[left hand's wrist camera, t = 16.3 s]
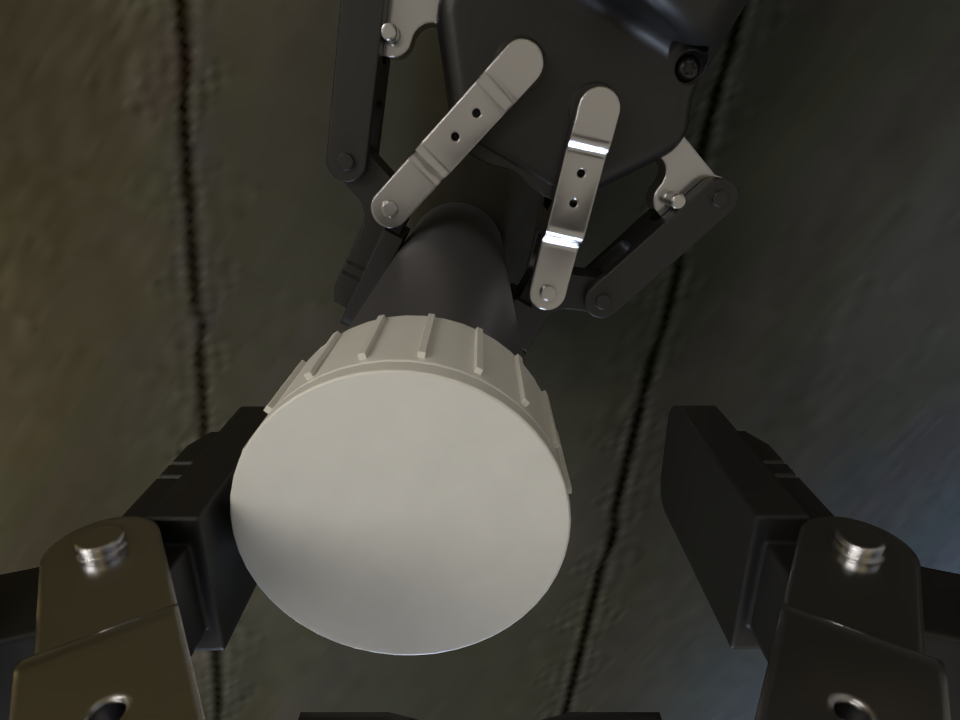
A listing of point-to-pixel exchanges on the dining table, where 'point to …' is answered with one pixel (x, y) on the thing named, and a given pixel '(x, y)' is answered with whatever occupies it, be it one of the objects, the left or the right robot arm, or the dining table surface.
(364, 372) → the lid
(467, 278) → the bottle
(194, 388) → the dining table surface
